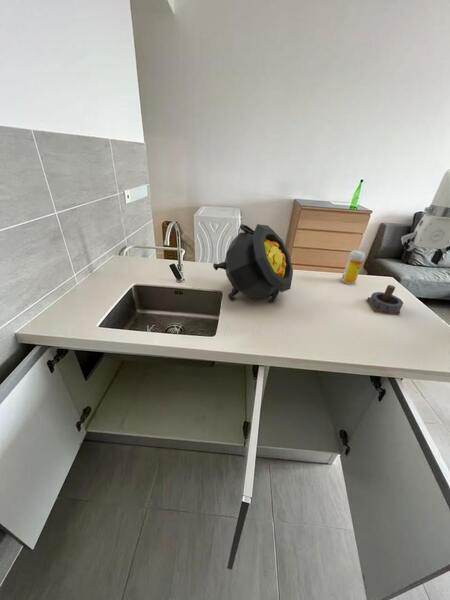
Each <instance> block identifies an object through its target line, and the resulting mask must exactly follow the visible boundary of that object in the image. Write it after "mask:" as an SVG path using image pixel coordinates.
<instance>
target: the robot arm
mask: <svg viewBox="0 0 450 600" xmlns="http://www.w3.org/2000/svg"><path fill="white" fill-rule="evenodd" d="M423 212H425V213H426V214H423V216H422V218H420V220H419V222H418V223H417V225H416V227H415V228H414V231H413V232H410V233H408V234H405V235H402V236H401V238H400V240H401V245H402V246H403V249H404V250H403V253H402V254H401V261H403V262H405V263H408V262H409V261H410V258H411V256H412V253H413V251H412V250H414V249H415V248H422V249H423V248H425V249H435V251H434V253H433V255H432V257H431V259H430V263H432V264H434V265H439V263H440V262H441V260H442V258H443V256H444V254H447V252H449V251H450V168H449V169H447V170H446V171H445V172H444V174H443V176H442V178H441V181H440V183H439V185H438V188H437V190H436V192H435V194H434V196H433V199H432V201H431V204H430V205H429V206H428V207H427V206H426V207H425V208H424V211H423ZM408 240H409V241H410V242H409V243H408Z"/></svg>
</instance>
